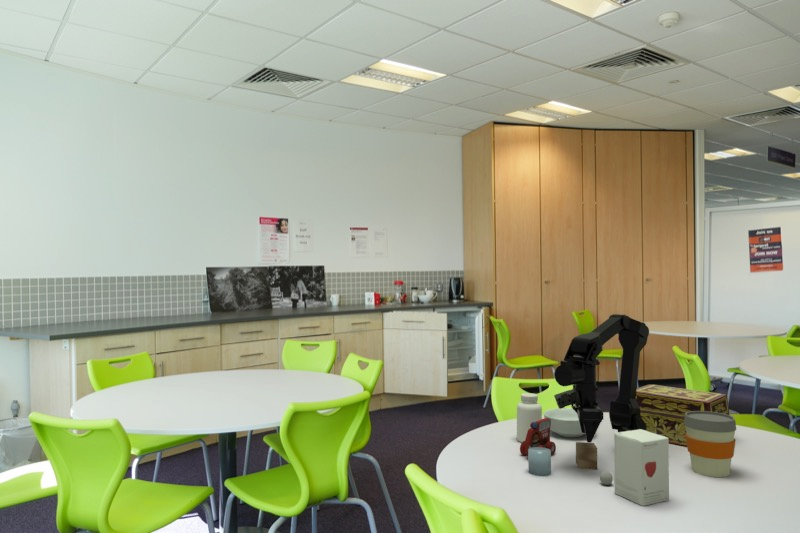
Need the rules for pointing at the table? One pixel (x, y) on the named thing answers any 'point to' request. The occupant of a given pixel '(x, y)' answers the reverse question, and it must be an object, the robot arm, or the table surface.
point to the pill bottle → (527, 414)
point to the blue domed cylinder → (539, 461)
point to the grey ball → (606, 478)
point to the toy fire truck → (538, 437)
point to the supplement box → (641, 466)
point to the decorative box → (675, 409)
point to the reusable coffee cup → (710, 442)
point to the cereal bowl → (564, 422)
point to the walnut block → (586, 455)
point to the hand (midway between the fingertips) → (586, 437)
